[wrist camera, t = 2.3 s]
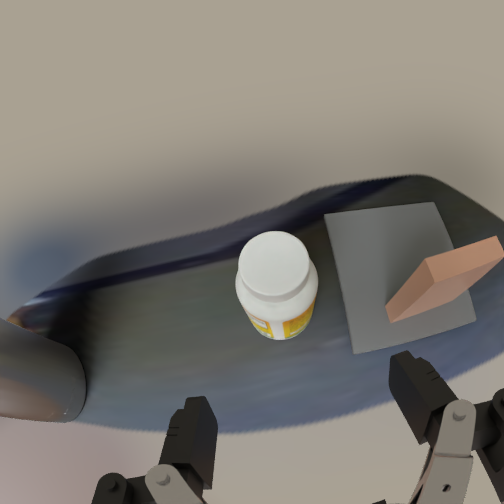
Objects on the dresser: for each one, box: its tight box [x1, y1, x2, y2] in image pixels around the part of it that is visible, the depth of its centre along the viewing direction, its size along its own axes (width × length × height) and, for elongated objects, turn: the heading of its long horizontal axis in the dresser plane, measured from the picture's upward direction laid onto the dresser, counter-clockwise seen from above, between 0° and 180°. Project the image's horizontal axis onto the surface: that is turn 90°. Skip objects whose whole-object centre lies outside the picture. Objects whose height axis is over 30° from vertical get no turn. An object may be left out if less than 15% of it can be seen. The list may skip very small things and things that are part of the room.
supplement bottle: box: [236, 231, 318, 340], centre depth 20 cm, size 5×5×10 cm
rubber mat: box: [324, 202, 477, 355], centre depth 24 cm, size 13×14×1 cm
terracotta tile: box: [385, 236, 504, 323], centre depth 18 cm, size 2×7×9 cm, turn 101°
